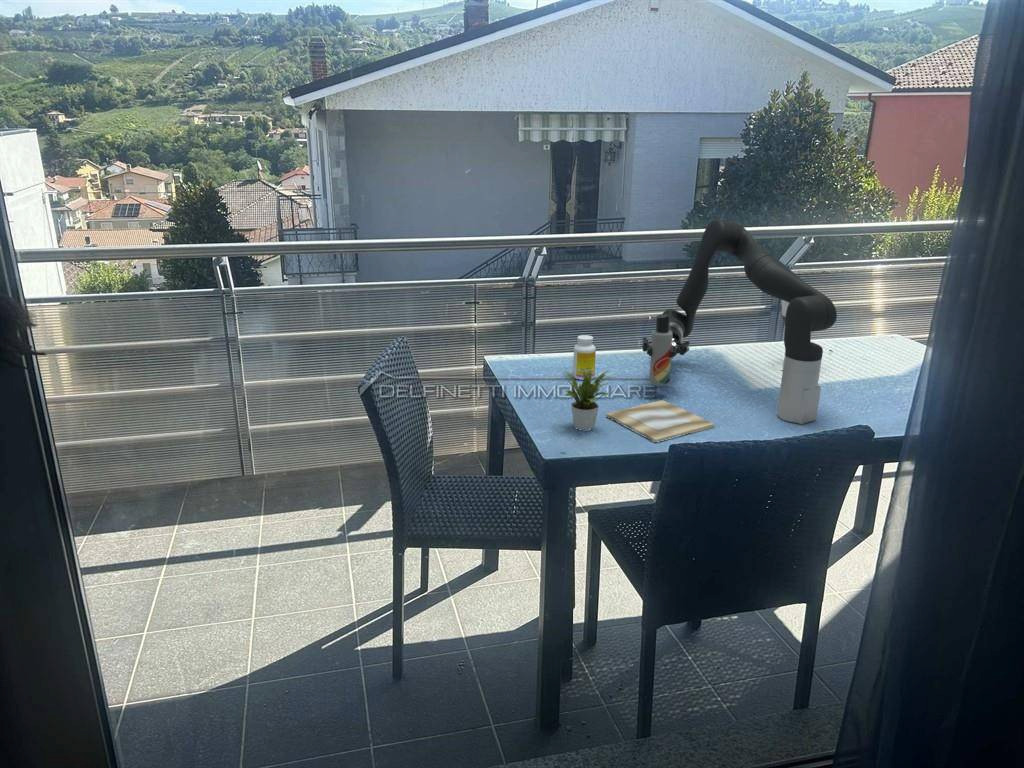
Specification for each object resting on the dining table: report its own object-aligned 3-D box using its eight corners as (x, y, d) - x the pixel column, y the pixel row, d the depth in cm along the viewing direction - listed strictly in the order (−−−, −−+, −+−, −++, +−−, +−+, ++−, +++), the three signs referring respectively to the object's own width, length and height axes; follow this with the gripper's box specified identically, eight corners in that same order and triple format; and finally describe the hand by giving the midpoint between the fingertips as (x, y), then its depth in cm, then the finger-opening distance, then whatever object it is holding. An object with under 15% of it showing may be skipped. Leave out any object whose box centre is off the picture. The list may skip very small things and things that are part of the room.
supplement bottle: (598, 379, 240) (600, 339, 236) (579, 382, 238) (580, 341, 233) (588, 372, 246) (589, 333, 242) (569, 375, 244) (570, 335, 239)
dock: (714, 427, 206) (714, 423, 205) (655, 443, 196) (656, 439, 195) (662, 403, 222) (662, 399, 221) (605, 417, 212) (606, 413, 211)
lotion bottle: (669, 386, 222) (673, 318, 216) (649, 385, 224) (652, 317, 217) (669, 379, 228) (673, 312, 221) (649, 378, 229) (653, 312, 222)
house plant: (623, 436, 200) (627, 375, 194) (572, 442, 196) (574, 380, 190) (602, 416, 212) (604, 358, 207) (553, 421, 209) (555, 362, 203)
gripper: (645, 323, 236) (635, 338, 221) (694, 327, 232) (687, 343, 217) (644, 347, 239) (634, 363, 223) (692, 351, 234) (685, 369, 219)
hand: (660, 353), depth 220 cm, fingers closed on lotion bottle, 5 cm apart
